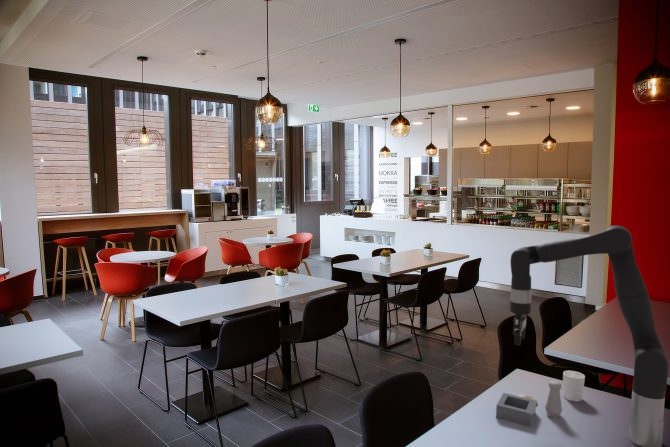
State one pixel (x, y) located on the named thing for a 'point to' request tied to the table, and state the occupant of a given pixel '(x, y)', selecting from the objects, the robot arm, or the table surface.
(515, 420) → the well
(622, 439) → the table surface
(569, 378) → the white cup
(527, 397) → the cork coaster
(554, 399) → the salt shaker
